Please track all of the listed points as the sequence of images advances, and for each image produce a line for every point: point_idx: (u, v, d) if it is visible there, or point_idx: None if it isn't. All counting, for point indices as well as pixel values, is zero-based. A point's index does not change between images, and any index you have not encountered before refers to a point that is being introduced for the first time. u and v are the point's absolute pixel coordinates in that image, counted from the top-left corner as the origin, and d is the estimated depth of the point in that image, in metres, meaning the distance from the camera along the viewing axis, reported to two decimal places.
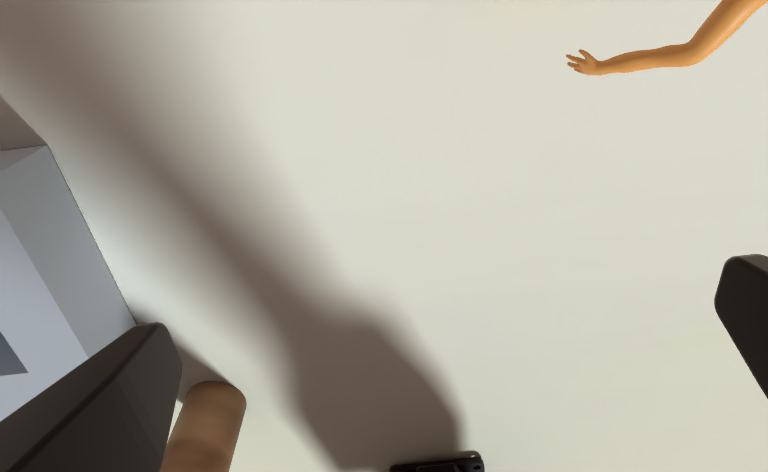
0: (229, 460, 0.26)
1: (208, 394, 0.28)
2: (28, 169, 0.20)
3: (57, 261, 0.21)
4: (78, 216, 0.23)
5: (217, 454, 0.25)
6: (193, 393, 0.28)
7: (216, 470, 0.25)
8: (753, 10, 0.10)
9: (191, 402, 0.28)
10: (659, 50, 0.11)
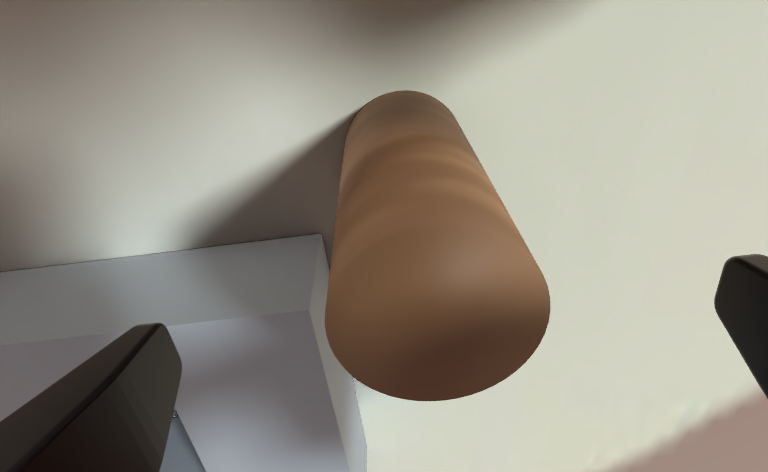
0: (415, 136, 0.10)
1: None
2: None
3: None
4: (8, 275, 0.16)
5: (367, 159, 0.10)
6: None
7: (377, 167, 0.09)
8: None
9: None
10: None
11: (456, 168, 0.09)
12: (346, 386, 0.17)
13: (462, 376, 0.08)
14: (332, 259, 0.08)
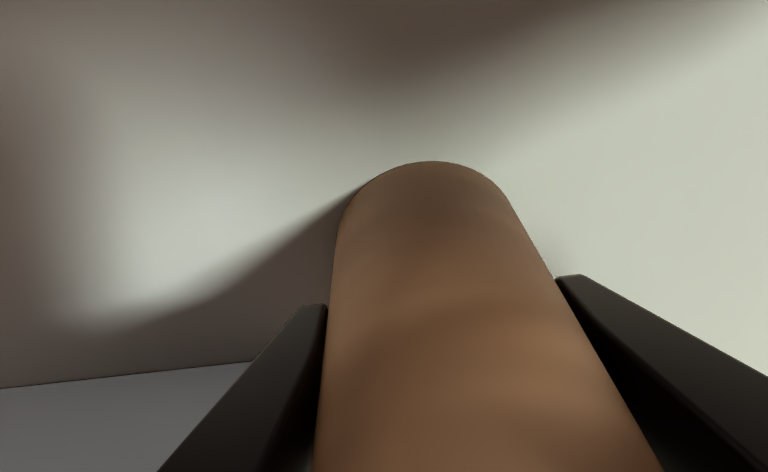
0: (470, 302, 0.05)
1: None
2: None
3: None
4: None
5: (375, 352, 0.05)
6: None
7: (396, 406, 0.04)
8: None
9: None
10: None
11: (584, 437, 0.04)
12: None
13: None
14: None
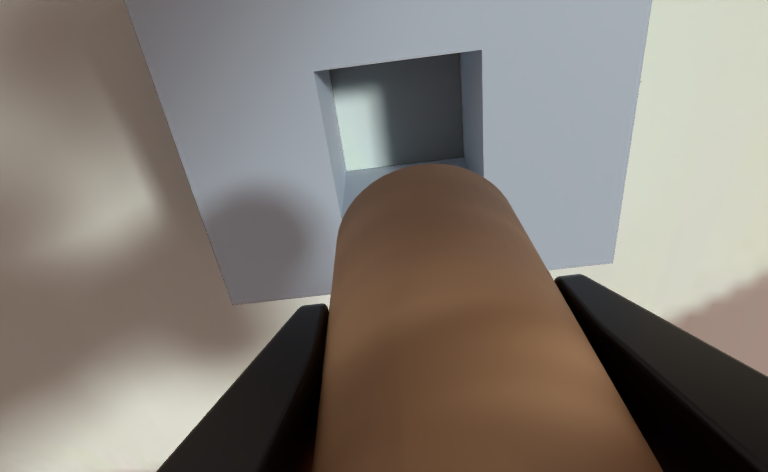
0: (471, 306, 0.05)
1: None
2: None
3: None
4: None
5: (375, 357, 0.05)
6: None
7: (397, 412, 0.04)
8: None
9: None
10: None
11: (586, 443, 0.04)
12: None
13: None
14: None
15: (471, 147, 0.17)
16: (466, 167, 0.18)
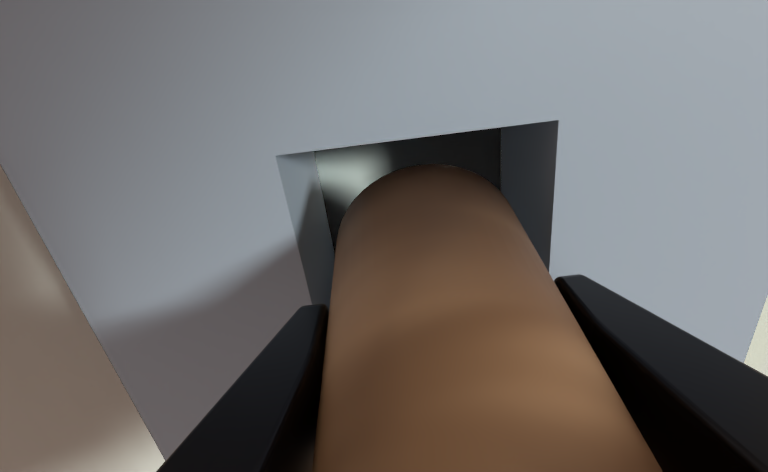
0: (471, 307, 0.05)
1: None
2: None
3: None
4: None
5: (375, 358, 0.05)
6: None
7: (397, 413, 0.04)
8: None
9: None
10: None
11: (587, 445, 0.04)
12: None
13: None
14: None
15: None
16: None
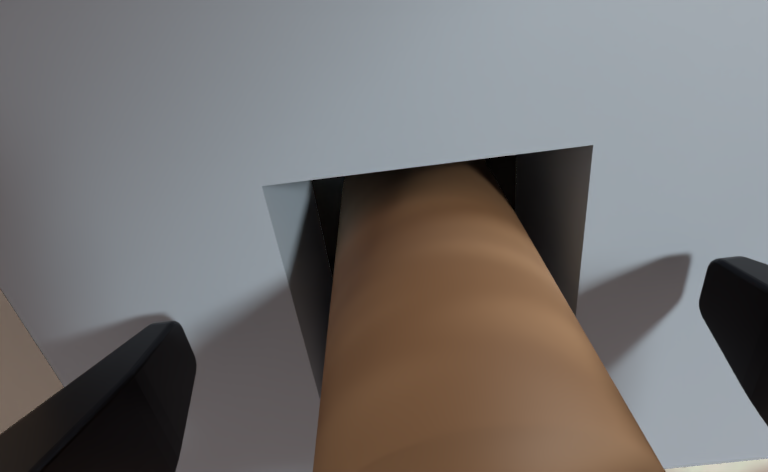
0: (441, 204, 0.07)
1: None
2: None
3: None
4: None
5: (373, 238, 0.07)
6: None
7: (388, 261, 0.06)
8: None
9: None
10: None
11: (510, 269, 0.06)
12: None
13: None
14: (320, 422, 0.05)
15: None
16: None
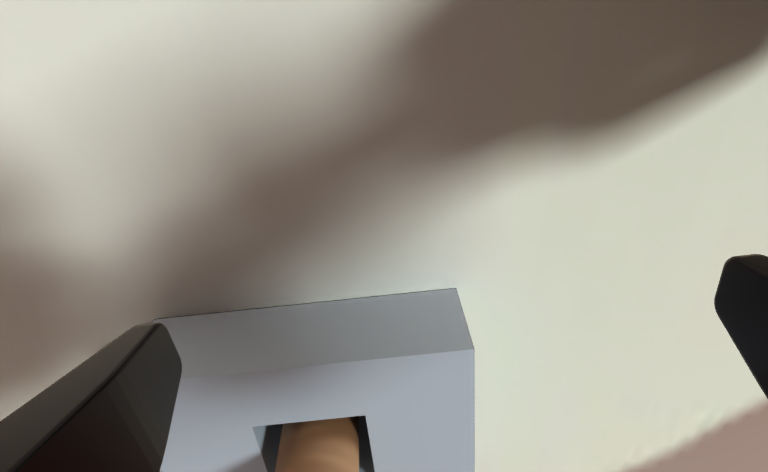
0: (315, 431, 0.20)
1: None
2: None
3: (234, 352, 0.20)
4: (227, 315, 0.22)
5: (290, 444, 0.20)
6: None
7: (292, 459, 0.20)
8: None
9: None
10: None
11: (328, 467, 0.19)
12: None
13: None
14: None
15: None
16: None
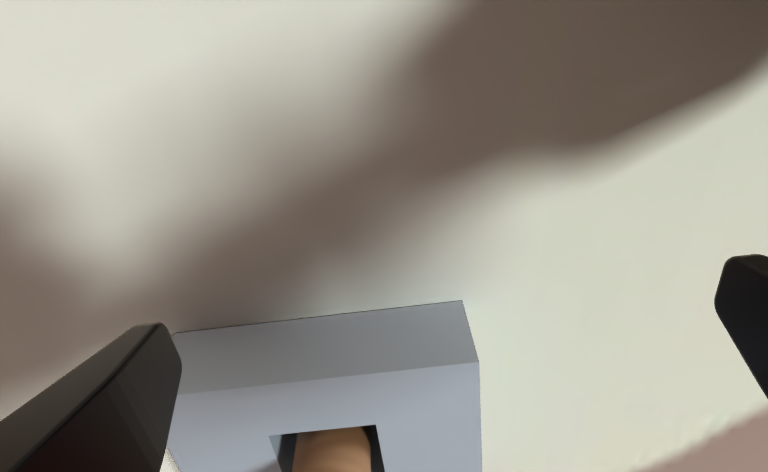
0: (328, 439, 0.21)
1: None
2: None
3: (250, 365, 0.21)
4: (243, 328, 0.23)
5: (305, 452, 0.21)
6: None
7: (307, 467, 0.21)
8: None
9: None
10: None
11: None
12: None
13: None
14: None
15: None
16: None
